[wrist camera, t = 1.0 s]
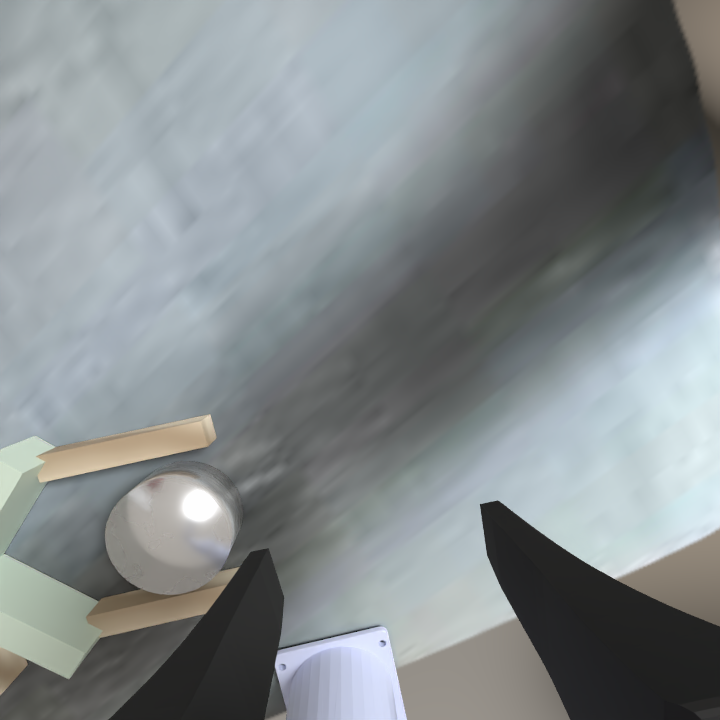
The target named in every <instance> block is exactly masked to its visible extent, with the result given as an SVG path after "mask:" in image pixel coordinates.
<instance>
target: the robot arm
mask: <svg viewBox="0 0 720 720" xmlns="http://www.w3.org/2000/svg"><path fill="white" fill-rule="evenodd" d="M480 508H481V515H482V522H483V529H484V536H485V543H486V550H487V556H488V558H489V561H490V563H491V565H492V568H493V570H494V572H495V575H496V577H497V579H498V582H499V584H500V586H501V588H502V590H503V592H504V594H505V595H506V597H507V599H508V601H509V603H510V604H511V606H512V608H513V610H514V612H515V613H516V615H517V617H518V619H519V621H520V622H521V624H522V626H523V628H524V629H525V631H526V633H527V634H528V636H529V638H530V640H531V642H532V643H533V645H534V647H535V649H536V651H537V652H538V654H539V656H540V658H541V660H542V662H543V663H544V665H545V667H546V669H547V671H548V673H549V675H550V677H551V679H552V681H553V683H554V685H555V687H556V690H557V692H558V694H559V696H560V698H561V700H562V702H563V705H564V707H565V709H566V711H567V713H568V715H569V718H570V720H720V627H719V626H717V625H714V624H712V623H709V622H707V621H704V620H702V619H699V618H697V617H694V616H692V615H689V614H687V613H685V612H682V611H680V610H678V609H675V608H673V607H671V606H668V605H666V604H664V603H662V602H660V601H658V600H656V599H653V598H651V597H649V596H647V595H645V594H643V593H641V592H639V591H636V590H635V589H632V588H631V587H629V586H627V585H625V584H623V583H621V582H619V581H617V580H615V579H613V578H612V577H610V576H608V575H606V574H604V573H603V572H601V571H599V570H597V569H595V568H594V567H592V566H590V565H588V564H587V563H585V562H583V561H582V560H580V559H579V558H577V557H576V556H574V555H572V554H571V553H569V552H568V551H566V550H565V549H563V548H562V547H560V546H559V545H557V544H556V543H554V542H553V541H552V540H550V539H549V538H547V537H546V536H545V535H543V534H542V533H540V532H539V531H538V530H536V529H535V528H533V527H532V526H531V525H529V524H528V523H527V522H525V521H524V520H523V519H522V518H520V517H519V516H518V515H516V514H515V513H514V512H512V511H511V510H510V509H509V508H507V507H506V506H505V505H504V504H502V503H501V502H499V501H493V502H489V503H484V504H480ZM283 605H284V595H283V592H282V589H281V586H280V583H279V580H278V577H277V573H276V570H275V567H274V564H273V561H272V558H271V554H270V551H269V548H268V549H263V550H258V551H253V552H251V553H250V554H249V555H248V557H247V558H246V559H245V561H244V562H243V563H242V565H241V566H240V568H239V569H238V570H237V572H236V573H235V575H234V576H233V577H232V579H231V580H230V582H229V583H228V584H227V586H226V587H225V589H224V590H223V591H222V593H221V594H220V595H219V597H218V598H217V599H216V601H215V602H214V603H213V605H212V606H211V607H210V609H209V610H208V611H207V613H206V614H205V615H204V616H203V618H202V619H201V620H200V621H199V623H198V624H197V625H196V626H195V628H194V629H193V630H192V631H191V633H190V634H189V635H188V636H187V638H186V639H185V640H184V641H183V642H182V644H181V645H180V646H179V647H178V648H177V650H176V651H175V652H174V653H173V654H172V655H171V656H170V657H169V659H168V660H167V661H166V662H165V663H164V664H163V665H162V666H161V667H160V668H159V670H158V671H157V672H156V673H155V674H154V675H153V676H152V677H151V678H150V679H149V680H148V681H147V682H146V683H145V684H144V685H143V686H142V687H141V688H140V689H139V690H138V691H137V692H136V693H135V694H134V695H133V696H132V697H131V698H130V699H129V700H128V701H127V702H126V703H125V704H124V705H123V706H122V707H121V708H120V709H119V710H118V711H117V712H116V713H115V714H114V715H113V716H112V717H111V718H110V719H109V720H264V717H265V712H266V707H267V702H268V697H269V692H270V687H271V682H272V677H273V672H274V667H275V669H276V673H277V677H278V680H279V684H280V688H281V691H282V695H283V699H284V702H285V706H286V710H287V715H286V720H407V718H406V713H405V708H404V704H403V699H402V695H401V690H400V686H399V681H398V677H397V672H396V667H395V663H394V658H393V654H392V649H391V645H390V640H389V636H388V631H387V629H386V628H385V627H382V626H381V627H375V628H371V629H367V630H362V631H358V632H354V633H350V634H345V635H341V636H337V637H333V638H328V639H324V640H320V641H316V642H311V643H307V644H303V645H298V646H294V647H290V648H286V649H281V650H278V646H279V641H280V635H281V628H282V618H283ZM381 640H384V641H383V642H380V641H381ZM281 664H285V665H281Z"/></svg>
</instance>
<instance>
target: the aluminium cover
mask: <svg viewBox="0 0 720 720" xmlns="http://www.w3.org/2000/svg"><path fill="white" fill-rule="evenodd" d="M242 521H243V504H242V500H241V497H240V494H239V492H238V490H237V488H236V487H235V485H234V484H233V482H232V481H231V480H230V479H229V478H228V477H227V476H226V475H225V474H223V473H222V472H221V471H219V470H218V469H216V468H214V467H212V466H210V465H207V464H204V463H200V462H193V461H181V462H174V463H171V464H167V465H165V466H163V467H160V468H159V469H157V470H155V471H154V472H153V473H151V474H150V475H149V476H148V477H147V478H145V479H144V480H143V481H142V482H141V483H139V484H138V485H137V486H136V487H135V488H133V489H132V490H131V491H130V492H129V493H127V494H126V495H125V496H124V497H123V498H122V499H121V500H120V501H119V502H118V503H117V504H116V506H115V507H114V508H113V510H112V512H111V514H110V515H109V518H108V521H107V524H106V529H105V544H106V549H107V553H108V555H109V558H110V560H111V562H112V564H113V565H114V567H115V568H116V569H117V571H118V572H119V573H120V574H121V575H122V576H123V577H124V578H125V579H126V580H127V581H129V582H130V583H131V584H133V585H135V586H137V587H138V588H141V589H143V590H145V591H148V592H152V593H156V594H164V595H176V594H182V593H187V592H190V591H193V590H195V589H198V588H200V587H202V586H203V585H205V584H207V583H208V582H209V581H210V580H212V579H213V578H214V577H215V576H216V575H217V574H218V572H219V571H220V570H221V568H222V567H223V565H224V563H225V561H226V559H227V557H228V555H229V553H230V551H231V549H232V546H233V544H234V542H235V540H236V538H237V536H238V533H239V531H240V529H241V526H242Z"/></svg>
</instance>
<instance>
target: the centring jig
mask: <svg viewBox="0 0 720 720" xmlns="http://www.w3.org/2000/svg"><path fill="white" fill-rule="evenodd" d="M215 439H216V434H215V430H214V427H213V423H212V419H211V415H210V414H208V415H204V416H199V417H194V418H190V419H185V420H180V421H176V422H171V423H166V424H162V425H157V426H152V427H148V428H143V429H138V430H134V431H129V432H124V433H120V434H115V435H110V436H106V437H101V438H96V439H92V440H87V441H82V442H78V443H73V444H68V445H64V446H59V447H55V446H53V445H51V444H49V443H48V442H46V441H44V440H42V439H40V438H38V437H37V436H33V437H31V438H28V439H26V440H23V441H21V442H18V443H15V444H13V445H10V446H8V447H5V448H3V449H0V695H1V694H2V693H3V692H4V691H5V690H6V689H7V687H8V686H9V685H10V684H11V683H12V682H13V681H14V680H15V678H16V677H17V676H18V675H19V674H20V673H21V672H22V671H23V670H24V668H25V667H26V666H27V665H28V663H27V660H29V661H31V662H34V663H36V664H38V665H40V666H42V667H44V668H46V669H48V670H50V671H53V672H55V673H57V674H59V675H61V676H63V677H65V678H67V679H70V678H71V676H72V675H73V674H74V672H75V671H76V669H77V668H78V667H79V665H80V664H81V663H82V661H83V660H84V659H85V657H86V656H87V655H88V653H89V652H90V651H91V649H92V648H93V647H94V645H95V644H96V643H97V641H98V640H99V639H100V638H102V637H106V636H110V635H115V634H119V633H123V632H128V631H132V630H137V629H141V628H145V627H150V626H154V625H158V624H163V623H167V622H171V621H176V620H180V619H184V618H189V617H193V616H197V615H202V614H206V613H207V611H208V610H209V609H210V607H211V606H212V605H213V603H214V602H215V601H216V599H217V598H218V597H219V595H220V594H221V593H222V591H223V590H224V589H225V587H226V586H227V584H228V583H229V582H230V580H231V579H232V577H233V576H234V575H235V573H236V572H237V570H238V569H239V568H240V567H237V568H232V569H228V570H224V571H219V572H218V574H217V575H216V576H215V577H214V578H213V579H212V580H210V581H209V582H208V583H207V584H205V585H203V586H202V587H200V588H198V589H195V590H193V591H190V592H187V593H182V594H176V595H164V594H156V593H152V592H148V591H145V590H143V589H140V590H135V591H131V592H127V593H122V594H118V595H113V596H109V597H105V598H102V599H101V600H100V601H97V600H95V599H93V598H91V597H89V596H87V595H85V594H83V593H81V592H79V591H77V590H75V589H73V588H71V587H69V586H67V585H65V584H63V583H61V582H59V581H57V580H55V579H53V578H51V577H49V576H47V575H45V574H43V573H41V572H39V571H37V570H35V569H33V568H31V567H30V566H28V565H26V564H24V563H22V562H20V561H18V560H16V559H14V558H12V557H10V556H8V555H6V554H4V553H5V551H6V550H7V548H8V546H9V545H10V543H11V541H12V540H13V538H14V536H15V535H16V533H17V532H18V530H19V528H20V527H21V525H22V523H23V522H24V520H25V518H26V517H27V515H28V513H29V512H30V510H31V508H32V507H33V505H34V503H35V502H36V500H37V498H38V497H39V495H40V493H41V492H42V490H43V488H44V487H45V485H46V483H47V482H48V481H51V480H55V479H60V478H65V477H69V476H74V475H79V474H83V473H88V472H92V471H97V470H102V469H106V468H111V467H115V466H120V465H125V464H129V463H134V462H139V461H143V460H148V459H152V458H157V457H162V456H166V455H171V454H176V453H180V452H185V451H189V450H194V449H199V448H203V447H208V446H209V445H210V444H211V443H212V442H213V441H214V440H215ZM26 659H27V660H26Z"/></svg>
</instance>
